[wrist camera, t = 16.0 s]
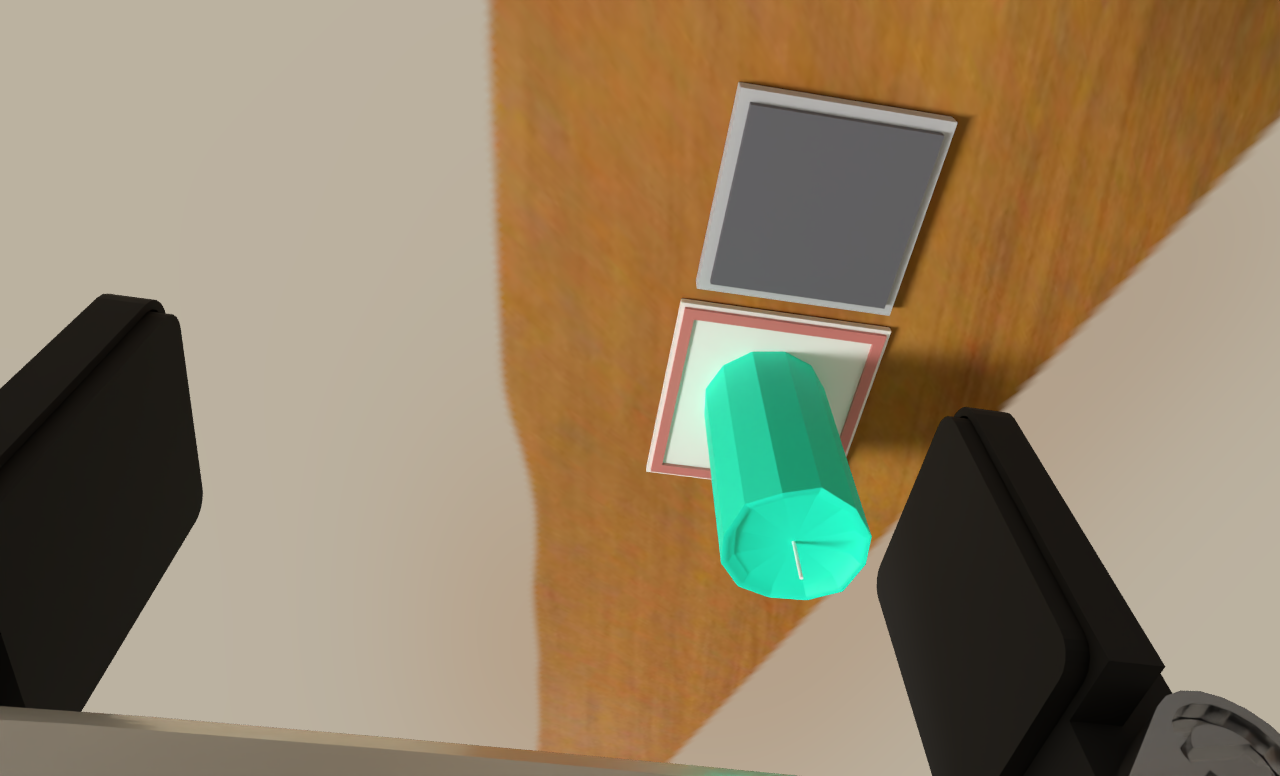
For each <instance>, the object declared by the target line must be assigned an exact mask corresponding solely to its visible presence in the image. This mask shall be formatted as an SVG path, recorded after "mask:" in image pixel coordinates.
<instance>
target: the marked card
mask: <svg viewBox="0 0 1280 776" xmlns="http://www.w3.org/2000/svg"><path fill="white" fill-rule="evenodd" d="M890 334H891V330H890V328H889V327H883V326H876V325H868V324H861V323H854V322H847V321H840V320H833V319H826V318H818V317H811V316H804V315H797V314H790V313H783V312H776V311H769V310H761V309H754V308H747V307H740V306H733V305H726V304H719V303H711V302H704V301H697V300H690V299H683V298H681V302H680V307H679V311H678V316H677V321H676V326H675V331H674V336H673V340H672V345H671V350H670V355H669V360H668V365H667V369H666V374H665V379H664V384H663V389H662V393H661V398H660V403H659V408H658V413H657V418H656V422H655V427H654V432H653V437H652V442H651V447H650V451H649V456H648V461H647V466H646V472H654V473H663V474H671V475H679V476H687V477H695V478H704V479H712V478H711V470H710V461H709V452H708V443H707V434H706V426H705V417H704V411H705V392H706V388H707V386H708V385H709V384H710V382H711V381H712V380H713V378H714V377H715V376H716V374H717V373H718V372H719V370H720V369H721V368H722V366H723V365H725V364H727V363H729V362H731V361H733V360H735V359H738V358H740V357H742V356H744V355H746V354H748V353H750V352H787V353H789V354H791V355H792V356H794V357H796V358H798V359H800V360H802V361H804V362H806V363H808V364H810V365H811V366H812V367H813V369H814V371H815V373H816V375H817V376H818V378H819V380H820V382H821V384H822V386H823V387H824V389H825V393H826V396H827V399H828V402H829V405H830V408H831V411H832V414H833V418H834V421H835V424H836V427H837V430H838V433H839V436H840V439H841V443H842V446H843V449H844V452H845V455H846V457H847V454H848V451H849V448H850V446H851V443H852V440H853V437H854V434H855V432H856V429H857V426H858V423H859V420H860V418H861V415H862V412H863V409H864V406H865V404H866V401H867V398H868V395H869V392H870V390H871V387H872V384H873V381H874V378H875V376H876V373H877V370H878V367H879V365H880V362H881V359H882V356H883V353H884V351H885V348H886V345H887V342H888V339H889V337H890Z"/></svg>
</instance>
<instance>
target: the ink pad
mask: <svg viewBox="0 0 1280 776" xmlns="http://www.w3.org/2000/svg"><path fill="white" fill-rule="evenodd" d="M957 123H958V122H957V121H956V120H955V119H954V118H953V117H951V116H945V115H939V114H932V113H926V112H920V111H914V110H908V109H902V108H896V107H890V106H883V105H877V104H871V103H865V102H859V101H853V100H847V99H841V98H834V97H828V96H822V95H816V94H810V93H804V92H798V91H792V90H785V89H779V88H773V87H767V86H761V85H755V84H749V83H743V82H738V87H737V92H736V96H735V101H734V106H733V110H732V115H731V120H730V124H729V129H728V134H727V138H726V143H725V148H724V152H723V157H722V162H721V166H720V171H719V176H718V180H717V185H716V190H715V194H714V199H713V204H712V208H711V213H710V217H709V222H708V227H707V231H706V236H705V241H704V245H703V250H702V255H701V259H700V264H699V269H698V273H697V278H696V285H697V289H704V290H711V291H718V292H725V293H732V294H739V295H746V296H754V297H761V298H768V299H775V300H782V301H789V302H796V303H803V304H810V305H817V306H824V307H831V308H838V309H845V310H853V311H860V312H867V313H874V314H881V315H888V316H890V313H891V310H892V307H893V305H894V302H895V299H896V296H897V293H898V290H899V288H900V285H901V282H902V279H903V276H904V273H905V271H906V268H907V265H908V262H909V259H910V256H911V254H912V251H913V248H914V245H915V242H916V239H917V237H918V234H919V231H920V228H921V225H922V222H923V220H924V217H925V214H926V211H927V208H928V205H929V202H930V200H931V197H932V194H933V191H934V188H935V185H936V183H937V180H938V177H939V174H940V171H941V168H942V166H943V163H944V160H945V157H946V154H947V151H948V149H949V146H950V143H951V140H952V137H953V134H954V132H955V129H956V126H957Z"/></svg>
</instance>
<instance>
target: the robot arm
mask: <svg viewBox="0 0 1280 776" xmlns="http://www.w3.org/2000/svg"><path fill="white" fill-rule="evenodd" d="M202 496H203V490H202V482H201V474H200V467H199V460H198V453H197V445H196V438H195V431H194V423H193V417H192V409H191V401H190V394H189V386H188V379H187V372H186V365H185V357H184V350H183V342H182V335H181V328H180V324H179V321H178V319H177V317H176V316H174V315H172V314H165V310H164V308H163V306H162V304H161V303H160V302H158V301H157V300H151V299H144V298H137V297H129V296H122V295H113V294H102V295H101V296H99V297H98V298H96V299H95V300H94V301H93V302H92V303H91V304H90V305H89V306H88V307H87V308H86V309H85V310H84V311H83V312H81V313H80V314H79V315H78V316H77V317H76V318H75V319H74V320H73V321H72V322H71V323H70V324H69V325H68V326H67V327H65V328H64V329H63V330H62V331H61V332H60V333H59V334H58V335H57V336H56V337H55V338H54V339H53V340H52V341H51V342H50V343H48V344H47V345H46V346H45V347H44V348H43V349H42V350H41V351H40V352H39V353H38V354H37V355H36V356H35V357H34V358H33V359H32V360H30V361H29V362H28V363H27V364H26V365H25V366H24V367H23V368H22V369H21V370H20V371H19V372H18V373H17V374H15V375H14V376H13V377H12V378H11V379H10V380H9V381H8V382H7V383H6V384H5V385H4V386H3V387H2V388H1V389H0V776H795V775H784V774H775V773H764V772H754V771H744V770H734V769H724V768H714V767H703V766H693V765H682V764H672V763H661V762H651V761H640V760H629V759H618V758H608V757H597V756H586V755H576V754H565V753H554V752H543V751H532V750H521V749H510V748H500V747H489V746H488V747H487V746H478V745H467V744H455V743H444V742H434V741H422V740H412V739H401V738H389V737H378V736H366V735H355V734H343V733H331V732H320V731H308V730H297V729H286V728H274V727H261V726H251V725H240V724H228V723H217V722H205V721H193V720H182V719H169V718H159V717H145V716H132V715H118V714H104V713H90V712H81V711H82V709H83V708H84V706H85V704H86V703H87V701H88V699H89V698H90V696H91V694H92V692H93V691H94V689H95V688H96V686H97V684H98V683H99V681H100V679H101V678H102V676H103V675H104V673H105V671H106V669H107V668H108V666H109V664H110V663H111V661H112V659H113V658H114V656H115V655H116V653H117V651H118V649H119V648H120V646H121V645H122V643H123V641H124V640H125V638H126V636H127V634H128V633H129V631H130V629H131V628H132V626H133V625H134V623H135V621H136V620H137V618H138V616H139V615H140V613H141V611H142V610H143V608H144V606H145V605H146V603H147V601H148V600H149V598H150V596H151V595H152V593H153V591H154V590H155V588H156V586H157V585H158V583H159V581H160V580H161V578H162V577H163V575H164V573H165V572H166V570H167V568H168V566H169V565H170V563H171V562H172V560H173V558H174V556H175V555H176V553H177V552H178V550H179V548H180V547H181V545H182V543H183V541H184V540H185V538H186V536H187V535H188V533H189V532H190V530H191V528H192V527H193V525H194V523H195V522H196V520H197V518H198V515H199V512H200V509H201V504H202ZM877 594H878V598H879V601H880V605H881V608H882V611H883V615H884V618H885V621H886V625H887V628H888V631H889V635H890V637H891V641H892V644H893V648H894V651H895V654H896V657H897V661H898V664H899V668H900V671H901V674H902V677H903V681H904V684H905V687H906V691H907V694H908V697H909V700H910V704H911V707H912V710H913V714H914V717H915V720H916V723H917V727H918V730H919V733H920V737H921V740H922V743H923V747H924V750H925V753H926V756H927V760H928V763H929V766H930V769H931V773H932V776H1280V734H1279V733H1278V732H1277V731H1276V730H1275V729H1274V728H1273V727H1272V726H1271V725H1269V724H1268V723H1266V722H1265V721H1263V720H1262V719H1260V718H1259V717H1258V716H1256V715H1255V714H1253V713H1252V712H1250V711H1248V710H1247V709H1245V708H1243V707H1241V706H1239V705H1237V704H1235V703H1233V702H1231V701H1228V700H1227V699H1225V698H1222V697H1219V696H1215V695H1212V694H1208V693H1204V692H1201V691H1179V692H1176V693H1173V694H1172V692H1171V690H1170V689H1169V687H1168V686H1167V684H1166V682H1165V681H1164V679H1163V677H1162V675H1161V674H1160V673H1161V672H1162V671H1163V669H1164V668H1165V666H1164V664H1163V662H1162V661H1161V659H1160V657H1159V656H1158V654H1157V652H1156V651H1155V649H1154V647H1153V646H1152V644H1151V643H1150V641H1149V639H1148V638H1147V636H1146V634H1145V633H1144V631H1143V629H1142V628H1141V626H1140V625H1139V623H1138V621H1137V620H1136V618H1135V616H1134V615H1133V613H1132V612H1131V610H1130V608H1129V606H1128V605H1127V603H1126V601H1125V600H1124V598H1123V596H1122V595H1121V593H1120V592H1119V590H1118V588H1117V587H1116V585H1115V584H1114V582H1113V580H1112V578H1111V577H1110V575H1109V573H1108V572H1107V570H1106V568H1105V567H1104V565H1103V564H1102V562H1101V560H1100V559H1099V557H1098V555H1097V554H1096V552H1095V550H1094V549H1093V547H1092V545H1091V544H1090V542H1089V541H1088V539H1087V537H1086V536H1085V534H1084V533H1083V531H1082V529H1081V527H1080V526H1079V524H1078V522H1077V521H1076V519H1075V517H1074V516H1073V514H1072V513H1071V511H1070V509H1069V508H1068V506H1067V504H1066V503H1065V501H1064V499H1063V498H1062V496H1061V494H1060V493H1059V491H1058V490H1057V488H1056V486H1055V485H1054V483H1053V481H1052V480H1051V478H1050V476H1049V475H1048V473H1047V472H1046V470H1045V468H1044V467H1043V465H1042V463H1041V462H1040V460H1039V458H1038V457H1037V455H1036V453H1035V452H1034V450H1033V449H1032V447H1031V445H1030V443H1029V442H1028V440H1027V439H1026V437H1025V435H1024V434H1023V432H1022V430H1021V429H1020V427H1019V426H1018V424H1017V422H1016V421H1015V419H1014V418H1013V417H1012V415H1011V414H1009V413H1005V412H999V411H991V410H983V409H976V408H968V407H964V408H961V409H960V410H959V411H958V412H957V413H956V414H955V416H954V417H950V416H947V417H945V418H944V419H943V420H942V421H941V422H940V424H939V426H938V428H937V431H936V433H935V435H934V438H933V440H932V443H931V445H930V447H929V450H928V452H927V455H926V457H925V459H924V462H923V464H922V467H921V469H920V471H919V474H918V476H917V479H916V481H915V483H914V486H913V488H912V491H911V493H910V495H909V498H908V500H907V503H906V505H905V507H904V510H903V512H902V515H901V517H900V519H899V522H898V524H897V527H896V529H895V531H894V534H893V536H892V539H891V541H890V543H889V546H888V548H887V551H886V553H885V555H884V558H883V560H882V562H881V565H880V568H879V571H878V577H877Z"/></svg>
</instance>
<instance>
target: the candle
mask: <svg viewBox="0 0 1280 776" xmlns="http://www.w3.org/2000/svg"><path fill="white" fill-rule="evenodd" d="M704 417H705V426H706V434H707V443H708V452H709V461H710V470H711V478H712V487H713V496H714V505H715V514H716V523H717V531H718V540H719V549H720V558H721V564H722V565H723V566H724V568H725V569H726V570H727V572H728V573H729V575H730V576H731V577H732V579H733V580H734V581H735V583H736V584H737V585H738V586H739V587H741V588H744V589H747V590H750V591H753V592H755V593H758V594H761V595H764V596H767V597H771V598H784V599H798V600H810V599H814V598H818V597H822V596H826V595H830V594H834V593H838V592H842V591H844V589H845V588H846V587H847V586H848V585H849V584H850V582H851V581H852V580H853V579H854V578H855V576H856V575H857V574H858V573H859V572H860V570H861V569H862V568H863V567H864V566H865V565H866V561H867V556H868V551H869V546H870V542H871V537H872V536H871V533H870V530H869V527H868V524H867V521H866V517H865V514H864V511H863V508H862V505H861V502H860V499H859V496H858V492H857V489H856V486H855V483H854V480H853V477H852V474H851V471H850V467H849V464H848V461H847V458H846V455H845V452H844V449H843V446H842V443H841V439H840V436H839V433H838V430H837V427H836V424H835V421H834V418H833V414H832V411H831V408H830V405H829V402H828V399H827V396H826V393H825V389H824V387H823V386H822V384H821V382H820V380H819V378H818V376H817V375H816V373H815V371H814V369H813V367H812V366H811V365H810V364H808V363H806V362H804V361H802V360H800V359H798V358H796V357H794V356H792V355H791V354H789V353H787V352H750V353H748V354H746V355H744V356H742V357H740V358H738V359H735V360H733V361H731V362H729V363H727V364H725V365H723V366H722V368H721V369H720V370H719V372H718V373H717V374H716V376H715V377H714V378H713V380H712V381H711V382H710V384H709V385H708V386H707V388H706V392H705V411H704Z"/></svg>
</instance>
